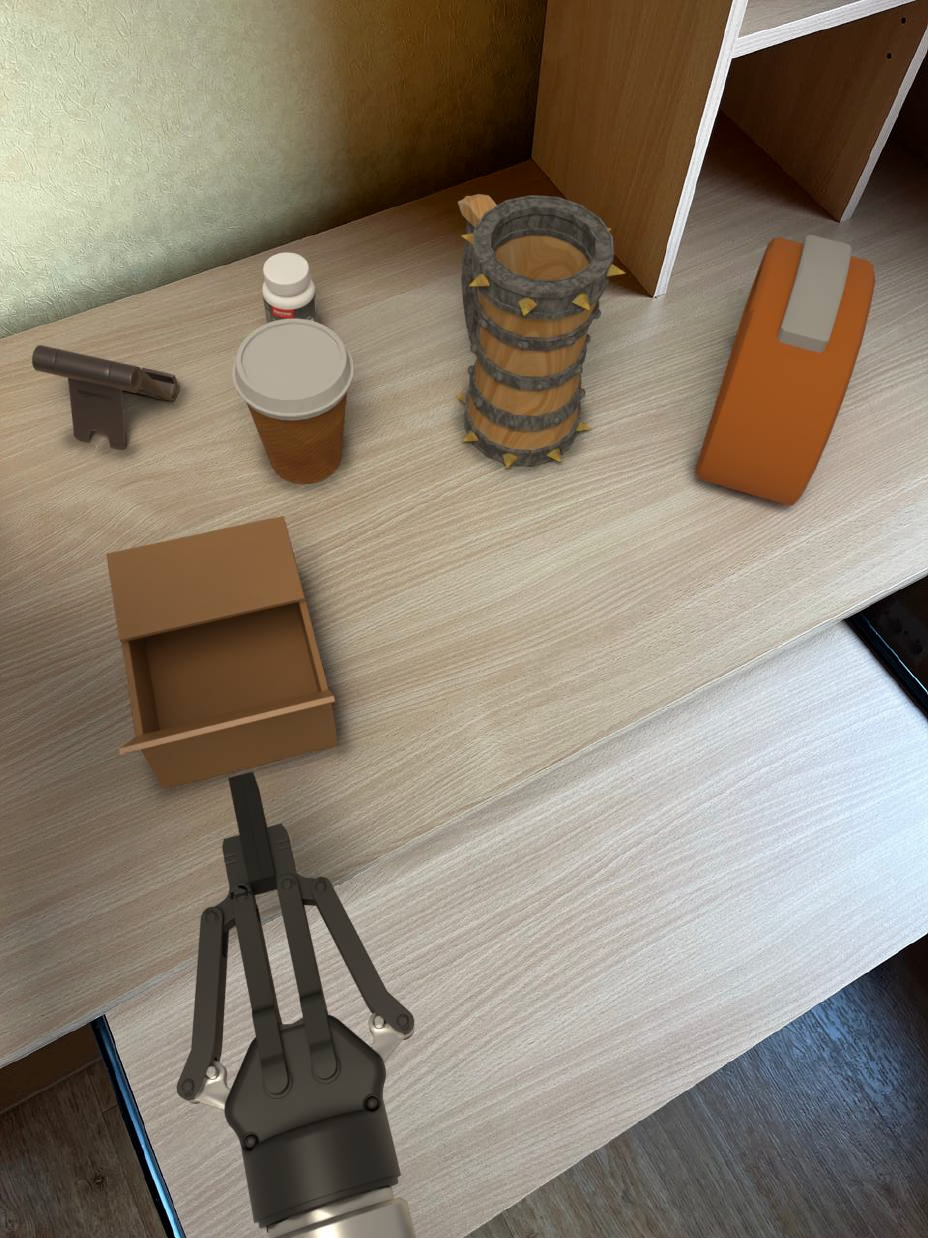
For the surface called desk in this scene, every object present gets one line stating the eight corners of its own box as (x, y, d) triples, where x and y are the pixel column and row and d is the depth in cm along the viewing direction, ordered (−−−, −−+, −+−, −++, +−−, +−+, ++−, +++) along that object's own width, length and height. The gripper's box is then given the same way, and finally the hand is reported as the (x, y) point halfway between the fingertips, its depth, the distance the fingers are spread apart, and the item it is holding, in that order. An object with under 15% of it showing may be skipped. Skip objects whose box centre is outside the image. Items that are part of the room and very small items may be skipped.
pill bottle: (275, 360, 98) (263, 291, 91) (265, 324, 100) (253, 254, 93) (325, 351, 99) (317, 281, 92) (314, 315, 101) (306, 245, 94)
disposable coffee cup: (292, 517, 89) (275, 424, 79) (229, 447, 93) (205, 349, 82) (382, 463, 93) (377, 366, 82) (318, 397, 96) (306, 296, 86)
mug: (498, 499, 91) (517, 328, 74) (400, 369, 98) (395, 185, 81) (620, 441, 95) (665, 265, 78) (516, 320, 102) (536, 134, 85)
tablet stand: (182, 390, 96) (162, 322, 89) (148, 456, 92) (125, 390, 85) (91, 370, 97) (64, 300, 89) (53, 434, 93) (22, 367, 86)
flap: (334, 695, 64) (335, 701, 64) (328, 689, 71) (329, 694, 71) (117, 748, 62) (119, 755, 62) (134, 736, 69) (136, 742, 69)
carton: (296, 581, 86) (283, 514, 78) (338, 745, 79) (329, 690, 71) (135, 617, 84) (105, 552, 76) (163, 789, 77) (133, 738, 69)
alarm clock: (741, 315, 103) (793, 167, 89) (832, 340, 102) (900, 193, 88) (686, 497, 92) (735, 360, 78) (787, 527, 91) (857, 394, 76)
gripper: (213, 1253, 55) (148, 831, 66) (454, 1173, 57) (352, 778, 68) (186, 1256, 48) (119, 788, 60) (458, 1166, 51) (345, 731, 62)
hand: (244, 783), depth 64 cm, fingers closed
